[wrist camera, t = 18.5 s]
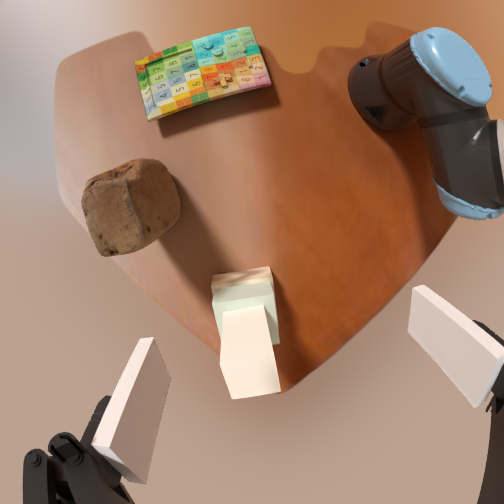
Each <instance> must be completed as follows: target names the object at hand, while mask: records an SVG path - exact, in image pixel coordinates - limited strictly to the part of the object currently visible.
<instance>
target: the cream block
mask: <svg viewBox="0 0 504 504" xmlns="http://www.w3.org/2000/svg"><path fill="white" fill-rule="evenodd" d="M220 367H221V369H222V372H223V375H224V378H225V381H226V384H227V386H228V389H229V392H230V395H231V397H232V399H239V398H246V397H252V396H259V395H265V394H270V393H275V392H281V389H280V384H279V378H278V373H277V368H276V362H275V357H274V352H273V347H272V343H271V338H270V333H269V328H268V324H267V319H266V314H265V310H264V305H260V306H255V307H250V308H244V309H239V310H233V311H228V312H223V322H222V338H221V355H220Z"/></svg>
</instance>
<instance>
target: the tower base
mask: <svg viewBox="0 0 504 504" xmlns="http://www.w3.org/2000/svg"><path fill="white" fill-rule="evenodd" d="M264 281H270V283H271V287H272V290H273V294H274V301H275V308H276V300H275V292H274V284H273V277H272V273H271V270H270V267H263V268H256V269H250V270H243V271H237V272H230V273H223V274H217V275H213V278H212V282H211V289H212V294H213V295H214V289H219V288H226V287H232V286H239V285H245V284H252V283H258V282H264ZM276 316H277V309H276ZM277 324H278V317H277ZM278 329H279V325H278Z"/></svg>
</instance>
